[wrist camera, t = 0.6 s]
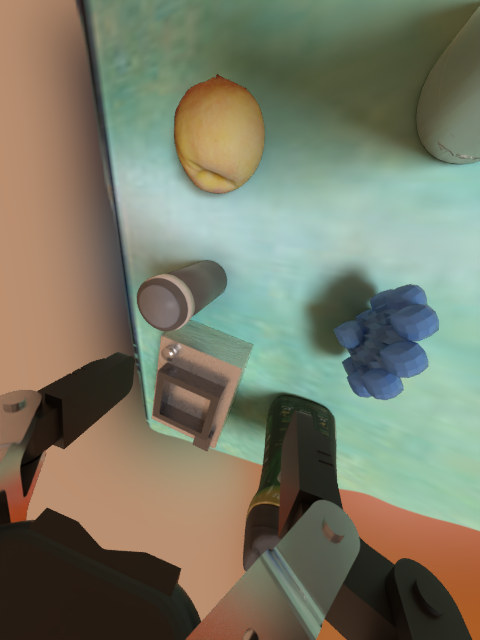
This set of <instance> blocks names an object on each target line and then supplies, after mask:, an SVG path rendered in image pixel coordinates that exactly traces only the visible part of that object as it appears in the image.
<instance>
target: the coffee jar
mask: <svg viewBox="0 0 480 640" xmlns="http://www.w3.org/2000/svg"><path fill="white" fill-rule="evenodd" d="M294 411H298V412H301V413H305V414H308V415H311V416H312V417H313V424H314V430H317V431H320V432H322V433H323V434H324V436H325V438H326V439H327V441H328V443H329V446H330V450H331V457H332V460H333V467H334V469H335V474H336V479H337V469H336V423H335V418H334V416H333V415H332V413H331V412H330V411H329V410H327V409H326V408H324V407H322V406H319V405H317V404H315V403H312V402H309V401H306V400H303V399H299V398H295V397H290V396H282V397H280V398H277V399H276V400H275V401H274V402H273V403H272V405H271V407H270V410H269V413H268V419H267V426H266V437H265V450H264V460H263V468H262V474H261V480H260V485H259V489H258V491H257V493H256V495H255V496H254V497H253V499H252V501H251V503H250V506H249V509H248V513H247V517H246V527H245V541H244V552H243V566H244V570H245V571H246V572H247V570H248V569H249V568H250V567H251V566H252V565H253V564H254V563H255V562H256V560H257V559H258V558H259V557H260V556H261V555H262V554H263V553H264V552H265V551H266V550H268V549H271V550H272V549H274V548H275V547H276V545H277V544H278V543H279V542H280V541H281V540H282V539H279V538H278V531H279V506H280V481H281V456H282V445H283V441H284V437H285V434H286V431H287V429H288V426H289V423H290V421H291V418H292V415H293V413H294Z"/></svg>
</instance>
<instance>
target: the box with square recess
mask: <svg viewBox="0 0 480 640" xmlns="http://www.w3.org/2000/svg"><path fill="white" fill-rule="evenodd" d="M252 348H253V344H250V343H248V342H245V341H243V340H240V339H238V338H235V337H233V336H230V335H228V334H225V333H222V332H220V331H217V330H215V329H212V328H210V327H207V326H205V325H202V324H200V323H197V322H195V321H192V320H190V321H189V322H187V323H186V324H185V325H184V326H182V327H181V328H179V329H177V330H173V331H167V332H165V333H164V334H163V335H161V343H160V352H159V361H158V369H157V378H156V386H155V395H154V403H153V412H152V419H154V420H156V421H158V422H160V423H162V424H164V425H166V426H168V427H171V428H173V429H175V430H177V431H179V432H181V433H183V434H185V435H187V436H189V437H191V438H194V441H193V445H195V446H197V447H199V448H201V449H203V450H205V451H208V449H209V447H212V448H214V449H215V447H216V444H217V442H218V440H219V438H220V435H221V433H222V431H223V428H224V426H225V424H226V421H227V419H228V416H229V413H230V411H231V408H232V405H233V402H234V399H235V396H236V393H237V391H238V388H239V385H240V382H241V379H242V376H243V374H244V371H245V368H246V365H247V362H248V359H249V357H250V354H251V351H252Z"/></svg>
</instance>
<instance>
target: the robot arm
mask: <svg viewBox="0 0 480 640" xmlns="http://www.w3.org/2000/svg"><path fill="white" fill-rule="evenodd" d="M416 122H417V132H418V134H419V137H420V140H421V143H422V144H423V145H424V147H425V148H426V150H427V151H428V152H429V153H430V154H432V155H433V156H434V157H436V158H437V159H440V160H442V161H445V162H448V163H456V164H466V163H475V162H479V161H480V6H479V7H478V8H477V9H476V11H475V12H474V13H473V14H472V16H471V17H470V18H469V20H468V21H467V22H466V24H465V25H464V26H463V27H462V29H461V30H460V31H459V33H458V34H457V35H456V36H455V38H454V39H453V40H452V42H451V43H450V44H449V46H448V47H447V48H446V49H445V51H444V52H443V53H442V55H441V56H440V58H439V59H438V61H437V62H436V64H435V65H434V67H433V68H432V70H431V71H430V73H429V75H428V77H427V79H426V81H425V84H424V86H423V88H422V91H421V94H420V98H419V101H418V106H417V115H416ZM134 363H135V359H134V357H132V356H129V355H126V354H123V353H120V352H117V353H115V354H113V355H111V356H109V357H107V358H106V359H105V358H103V359H100V360H96V361H93V362H91V363H89V364H87V365H85V366H83V367H81V369H77V370H75V371H74V372H72V374H71V373H70V374H68V375H66V376H65V377H63V378H61V379H59V380H57V381H55V382H53V383H51V384H50V385H48V386H46V387H44V388H42V389H40V390H38V391H33V390H19V391H13V392H9V393H6V394H4V395H1V396H0V640H316V638H317V636H318V634H319V632H320V630H321V627H322V623H323V620H324V619H326V620H327V621H328V622H329V623H330V624H331V625H332V626H333V627H334V628H335V629H336V630H337V631H338V632H339V633H340V634H341V635H342V636H344V637H345V638H346V639H347V640H472V638H471V636H470V634H469V631H468V629H467V627H466V625H465V622H464V620H463V618H462V615H461V613H460V611H459V609H458V607H457V605H456V603H455V602H454V600H453V598H452V597H451V595H450V594H449V592H448V591H447V590H446V588H445V587H444V586H443V584H442V583H441V582H440V581H439V580H438V579H437V578H436V577H435V576H434V575H433V574H432V573H431V572H430V571H429V570H428V569H426V568H425V567H424V566H422V565H421V564H419V563H418V562H416V561H414V560H411V559H407V558H403V559H400V560H398V561H397V563H396V564H395V565H394V564H393V563H392V562H390V561H389V560H387V559H386V558H385V557H384V556H382V555H381V554H380V553H378V552H377V551H375V550H374V549H373V548H371V547H370V546H369V545H368V544H366V543H365V542H364V541H363V540H362V539H361V538H360V537H359V535H358V532H357V530H356V527H355V525H354V524H353V522H352V520H351V519H350V518H349V516H348V515H347V514H346V513H345V512H344V511H343V508H342V503H341V498H340V493H339V489H338V484H337V479H336V474H335V469H334V467H333V460H332V457H331V450H330V446H329V443H328V441H327V439H326V438H325V436H324V434H323V433H322V432H320V431H317V430H314V424H313V417H312V416H311V415H308V414H305V413H301V412H298V411H294V413H293V415H292V418H291V421H290V423H289V426H288V429H287V431H286V434H285V437H284V441H283V445H282V456H281V481H280V506H279V531H278V538H279V539H282V540H281V541H280V542H279V543H278V544H277V545H276V547H275V548H274V549H272V550H271V549H268V550H266V551H265V552H264V553H263V554H262V555H261V556H260V557H259V558H258V559H257V560H256V562H255V563H254V564H253V565H252V566H251V567H250V568H249V569H248V570H247V572H246V573H245V574H244V575H243V576H242V577H241V578H240V579H239V581H238V582H237V583H236V584H235V585H234V586H233V587H232V588H231V589H230V591H229V592H228V593H227V594H226V595H225V596H224V597H223V598H222V599H221V600H220V602H219V603H218V604H217V605H216V606H215V607H214V608H213V609H212V610H211V612H210V613H209V614H208V615H207V616H206V617H205V618H204V619H203V620H202V622H201V620H200V617H199V615H198V612H197V610H196V608H195V606H194V604H193V602H192V600H191V599H190V598H189V596H188V595H187V593H186V592H185V591H184V590H183V588H182V587H181V586H180V585H179V584H178V580H179V575H180V571H181V568H179V567H177V566H175V565H172V564H170V563H168V562H166V561H163V560H161V559H159V558H157V557H155V556H152V555H150V554H148V553H144V552H131V551H116V550H106V549H103V548H101V547H100V546H99V545H98V544H97V542H96V541H95V540H94V539H93V538H92V537H91V536H90V535H89V534H88V532H86V530H85V529H84V528H83V527H82V526H81V525H80V524H79V522H77V521H75V520H73V519H71V518H69V517H66V516H64V515H62V514H60V513H58V512H56V511H53V510H51V509H49V508H46V509H45V510H44V511H43V512H42V513H41V515H40V516H39V517H38V518H37V519H36V520H28V521H26V518H27V510H28V506H29V503H30V500H31V497H32V494H33V491H34V488H35V485H36V482H37V480H38V477H39V474H40V471H41V468H42V465H43V462H44V459H45V456H46V450H47V449H48V448H49V447H50V446H51V445H55V446H58V447H60V448H62V449H65V448H66V447H67V446H69V445H70V444H71V443H72V442H73V441H74V440H75V439H77V438H78V437H79V436H80V435H81V434H82V433H84V432H85V431H86V430H87V429H88V428H89V427H91V426H92V425H93V424H94V423H95V422H96V421H98V420H99V419H100V418H101V417H102V416H103V415H104V414H106V413H107V412H108V411H109V410H110V409H111V408H113V407H114V406H115V405H116V404H117V403H118V402H120V400H122V399H123V398H124V397H125V396H126V395H127V394H128V393H129V392H130V390H131V388H132V385H133V375H134Z"/></svg>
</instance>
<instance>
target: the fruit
mask: <svg viewBox="0 0 480 640" xmlns="http://www.w3.org/2000/svg"><path fill="white" fill-rule="evenodd" d="M174 118H175V119H174V121H175V123H174V139H175V146H176V150H177V154H178V156H179V159H180V162H181V164H182V166H183V168H184V170H185V172H186V173H187V175H188V176H189V178H190V179H191V180H192V181H193V182H194V184H195V185H196V186H198V187H199V188H200V189H202V190H205V191H208V192H213V193H227V192H230V191H233V190H235V189H237V188H239V187H241V186H242V185H243V184H244V183H245V182H247V181H248V180H249V179H250V177H251V176H252V175H253V174H254V172H255V170H256V169H257V167H258V165H259V163H260V160H261V157H262V154H263V149H264V140H265V130H264V122H263V117H262V113H261V110H260V108H259V105H258V103H257V102H256V100H255V98H254V97H253V96H252V95H251V93H250V92H249V91H247V89H246V88H244V87H242V86H240V85H237V83H234V82H232V81H229V80H227V79H225V78H223V77H221V76H219V75H218V74H217V75H216V78H215V77H213V78H212V79H210V80H208V81H206V82H203V83H199V84H197V85H194V86H193V87H191V88H190V89H189V90H188V91H187V92H186V93H185V95H184V96H183V98H182V99H181V101H180V103H179V105H178V107H177V109H176V111H175V117H174Z"/></svg>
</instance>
